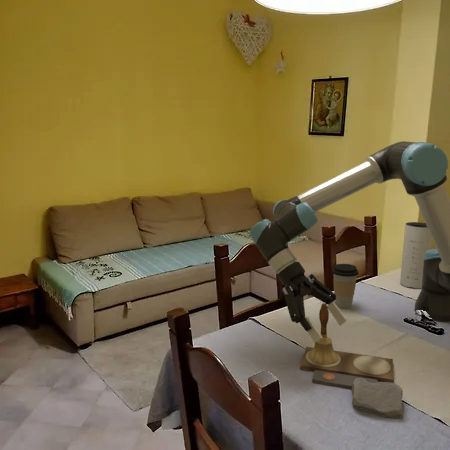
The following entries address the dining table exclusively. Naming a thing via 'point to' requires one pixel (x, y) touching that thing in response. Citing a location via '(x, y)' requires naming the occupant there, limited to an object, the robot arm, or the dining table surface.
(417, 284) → the white tall cylinder
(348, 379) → the pattern card
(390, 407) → the stone block
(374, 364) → the board
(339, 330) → the dining table surface
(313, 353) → the hand bell
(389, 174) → the robot arm
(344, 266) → the coffee cup
